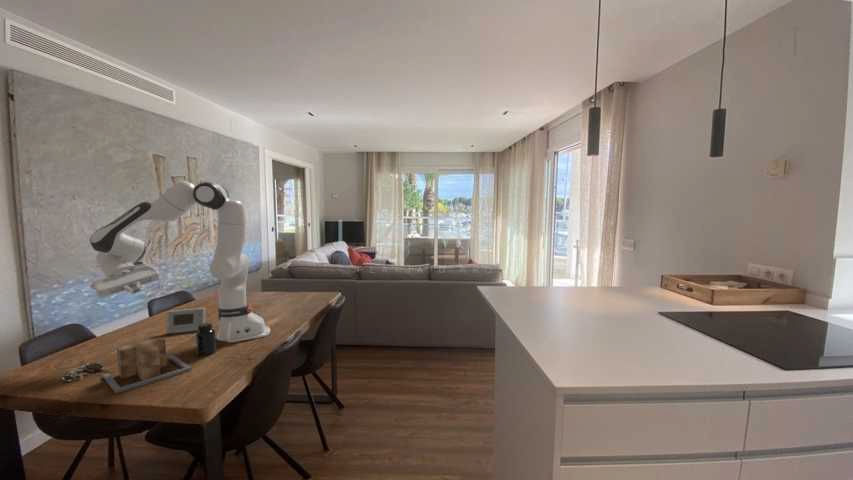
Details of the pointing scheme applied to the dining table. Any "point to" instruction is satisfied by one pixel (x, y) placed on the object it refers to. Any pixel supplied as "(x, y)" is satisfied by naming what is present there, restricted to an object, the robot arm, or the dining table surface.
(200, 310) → the digital clock
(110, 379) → the frame
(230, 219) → the robot arm
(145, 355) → the notched wooden block
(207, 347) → the supplement bottle
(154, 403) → the dining table surface
